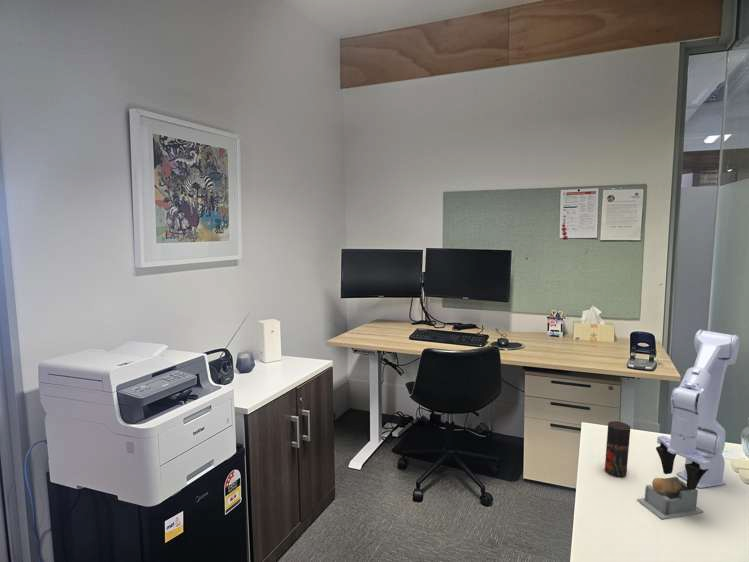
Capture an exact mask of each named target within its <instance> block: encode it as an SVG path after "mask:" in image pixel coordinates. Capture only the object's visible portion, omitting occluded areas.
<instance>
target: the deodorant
mask: <svg viewBox="0 0 749 562" xmlns="http://www.w3.org/2000/svg"><path fill="white" fill-rule="evenodd" d="M630 434H631V426H630V425H629V424H627V423H625V422H622V421H615V420H614V421H613V420H612V421H608V423H607V434H606V436H607V437H606V449H605V461H604V472H605V473H606V475H608V476H610V477H614V478H618V479H623V478H626V477H627V474H628V461H629V449H630V436H631V435H630Z"/></svg>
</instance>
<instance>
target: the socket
mask: <svg viewBox="0 0 749 562" xmlns="http://www.w3.org/2000/svg"><path fill="white" fill-rule="evenodd" d="M664 478H665V477H664ZM665 479H676V480H678V481H679V482H680V483H681V486H682V491H680V493H679V494H671V493H658V492H656V491H655V490H654V488H653V486H652V485H651V484H646V485H645V492H644V497H643V498H637V500H636V501H637V502H638V503H639V504H641V505H642V506H644V507H645V508H646V509H647V510H648V511H650V512H651V513H652V514H654V516H656V517H658V519H660V520H669V519H675V518H678V517H680V518H681V517H685V516H691V515H698V514H703V513H704V510H703V509H702V508H700V507H698V506H697V504H698V503H697V501H698V494H699V490H698V489H697V488H696V489H693V490H689V489H687V482H684V481H683V480H681V479H680V477H677V476H672V477H666V478H665Z"/></svg>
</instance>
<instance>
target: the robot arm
mask: <svg viewBox="0 0 749 562" xmlns="http://www.w3.org/2000/svg"><path fill="white" fill-rule="evenodd" d="M693 346H694V348H695V352H696V354H697V355H696V359H695V362H694V364H693V366H692V367H689V368H687V369H686V372H685V374H684V376H683V378H682V379H681V382H680V384H679V385H678V386H677V387H674V388H673V389H672V392H671V396H670V406H671V410H670V413H671V415H672V422H671V429H670V430H671V431H670V438H669V437H667V436H665V435H660V436H657V440H656V441H657V444H659V446H656V447H655V450H656V452H657V454H658V456H659V459H660V462H661V466H662V473H663V474H664V475H670V474H672V473H673V470H674V463H675V459H676V456H677V455H678V456H680V457H682V458H685V463H684V470H683V471H677V472H676V475H678V476H679V477H681V478H683V479H684V480H686V484H687V489H689V490H693V489H696V490H697V489H698V488H699V489H701V488H702V489H703V488H708V487H715V486H721V485H726V482H725V481H724V471H725V465H726V463H725V458H724V456H723V453H724V450H725V445H726V435H727V434H726V433H727V432H726V429H725V428H724V427H723V426H722V425H721V424H720V423H719V422H718V421H717V415H718V410H719V405H720V402H721V401H720V399H721V397H722V396H721V395H722V394H721V393H722V391H723V385H724V380H725V379H724V378H725V374H726V370H727V368H728V366H730V365H735V364H736V362H737V360H738V355H739V350H740V337H739V335H738V334H727V333H721V332H716V331H710V330H709V331H708V330H704V329H698V331H696V333H695V336H694V342H693Z"/></svg>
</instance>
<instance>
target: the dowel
mask: <svg viewBox="0 0 749 562" xmlns="http://www.w3.org/2000/svg"><path fill="white" fill-rule="evenodd" d="M651 484H652V485H651V486H653V488H654V490H655V491H656V492H658V493H671V494H679V493H680V491H682V486H681V483H680V482H679V481H678V480H676V479H665V477H664V478H662V477H661V478H660V477H654V478H653V479H652V483H651Z"/></svg>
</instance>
